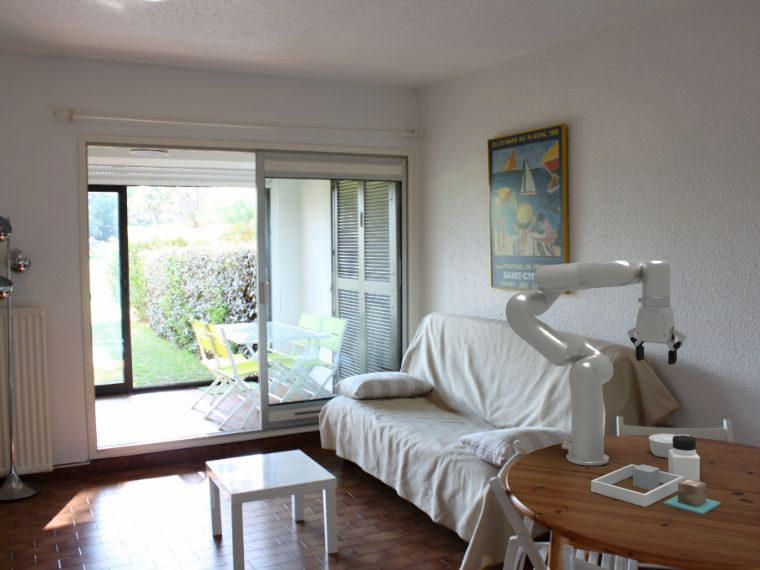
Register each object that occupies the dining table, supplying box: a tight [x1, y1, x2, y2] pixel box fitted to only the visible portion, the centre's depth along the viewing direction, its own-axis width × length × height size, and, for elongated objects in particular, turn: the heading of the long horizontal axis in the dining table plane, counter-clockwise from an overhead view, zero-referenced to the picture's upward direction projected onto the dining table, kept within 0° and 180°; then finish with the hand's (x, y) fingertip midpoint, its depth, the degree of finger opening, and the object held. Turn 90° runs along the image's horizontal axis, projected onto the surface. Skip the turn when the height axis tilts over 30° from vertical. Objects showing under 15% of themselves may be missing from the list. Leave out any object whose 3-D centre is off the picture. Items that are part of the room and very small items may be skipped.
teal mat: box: [663, 494, 722, 516], centre depth 182 cm, size 10×10×1 cm
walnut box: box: [677, 479, 707, 507], centre depth 182 cm, size 5×5×5 cm
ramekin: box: [648, 433, 677, 459], centre depth 225 cm, size 11×11×5 cm
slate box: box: [632, 463, 661, 491], centre depth 197 cm, size 5×5×5 cm
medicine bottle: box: [667, 434, 701, 482], centre depth 202 cm, size 7×7×12 cm
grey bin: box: [590, 463, 684, 508], centre depth 194 cm, size 16×21×3 cm
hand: (655, 362), depth 206 cm, fingers open, 9 cm apart
